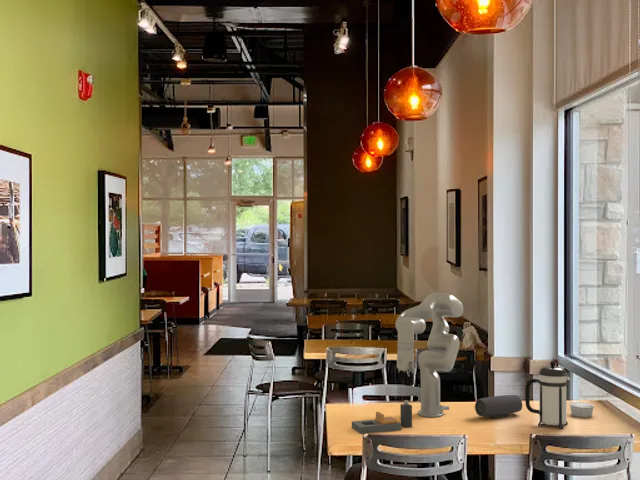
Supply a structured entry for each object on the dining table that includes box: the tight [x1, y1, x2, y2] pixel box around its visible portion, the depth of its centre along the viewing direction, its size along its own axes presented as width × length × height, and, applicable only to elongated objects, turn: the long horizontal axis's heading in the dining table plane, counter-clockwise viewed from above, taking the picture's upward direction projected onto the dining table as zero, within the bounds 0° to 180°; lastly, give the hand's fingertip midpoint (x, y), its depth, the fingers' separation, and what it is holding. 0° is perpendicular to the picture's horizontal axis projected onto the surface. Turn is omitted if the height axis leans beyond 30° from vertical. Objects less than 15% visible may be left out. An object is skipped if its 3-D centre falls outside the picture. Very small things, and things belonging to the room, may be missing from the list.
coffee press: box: [524, 361, 571, 431], centre depth 333 cm, size 17×16×30 cm
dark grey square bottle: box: [399, 399, 413, 429], centre depth 332 cm, size 4×4×12 cm
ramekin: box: [569, 401, 595, 418], centre depth 353 cm, size 11×11×5 cm
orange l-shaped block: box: [374, 411, 399, 424], centre depth 329 cm, size 8×8×4 cm
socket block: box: [351, 418, 402, 435], centre depth 328 cm, size 20×11×3 cm, turn 108°
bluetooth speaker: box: [474, 394, 523, 418], centre depth 351 cm, size 23×9×10 cm, turn 115°
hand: (406, 382), depth 332 cm, fingers open, 9 cm apart
